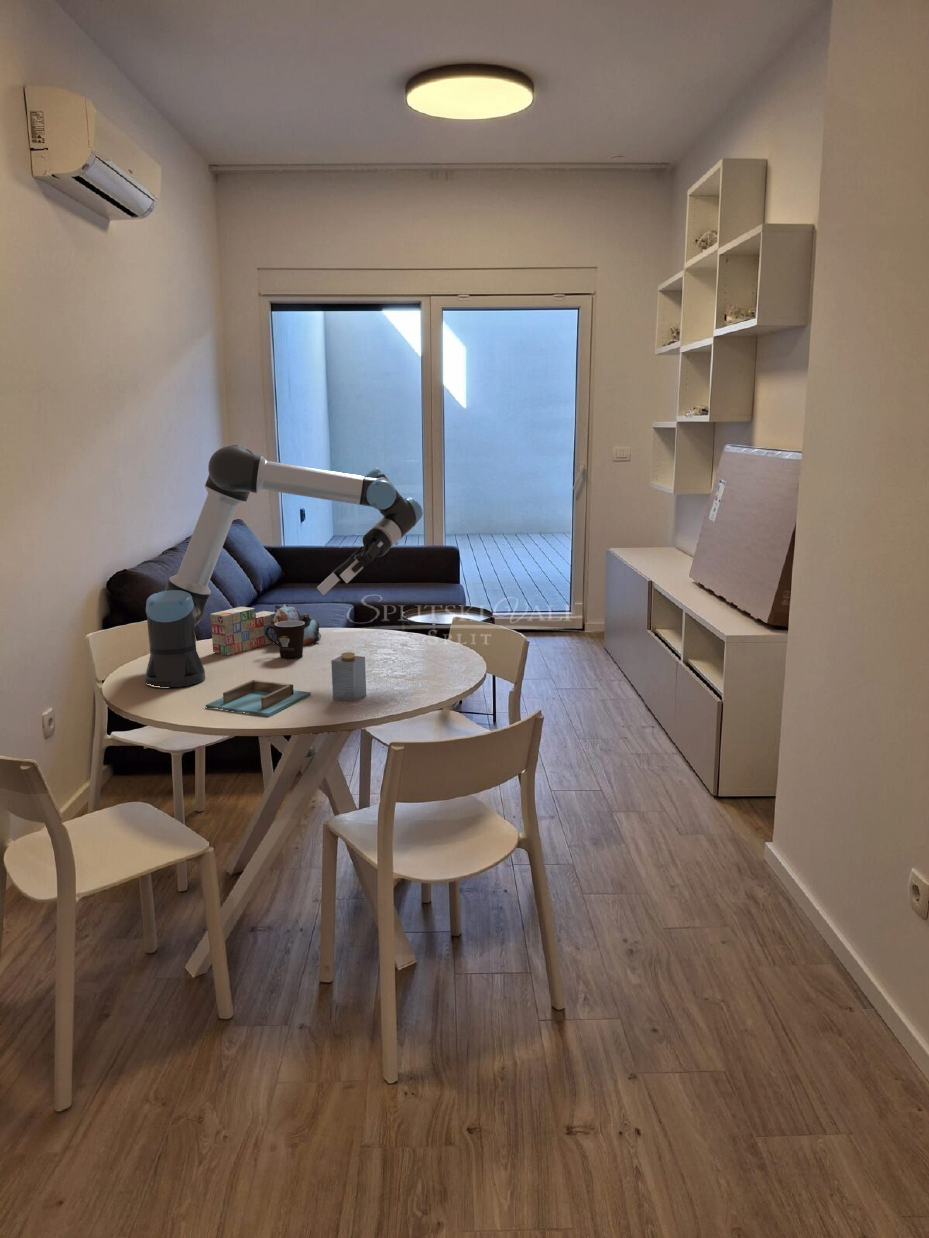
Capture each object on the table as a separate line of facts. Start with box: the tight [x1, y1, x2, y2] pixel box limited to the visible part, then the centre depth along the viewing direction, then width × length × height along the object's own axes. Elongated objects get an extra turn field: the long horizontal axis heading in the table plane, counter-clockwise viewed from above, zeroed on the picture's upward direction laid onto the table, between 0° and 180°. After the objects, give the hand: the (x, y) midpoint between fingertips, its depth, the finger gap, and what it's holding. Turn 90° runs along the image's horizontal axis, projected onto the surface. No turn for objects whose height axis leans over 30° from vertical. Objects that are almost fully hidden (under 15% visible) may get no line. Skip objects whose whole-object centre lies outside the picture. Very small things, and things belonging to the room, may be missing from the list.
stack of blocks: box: [209, 606, 278, 656], centre depth 267 cm, size 21×6×12 cm, turn 146°
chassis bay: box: [205, 679, 312, 718], centre depth 214 cm, size 18×18×3 cm
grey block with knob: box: [330, 651, 367, 703], centre depth 216 cm, size 6×6×11 cm
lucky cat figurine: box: [273, 603, 322, 646], centre depth 273 cm, size 15×12×14 cm
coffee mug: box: [266, 620, 305, 661], centre depth 256 cm, size 12×9×10 cm
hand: (331, 585), depth 227 cm, fingers open, 13 cm apart
